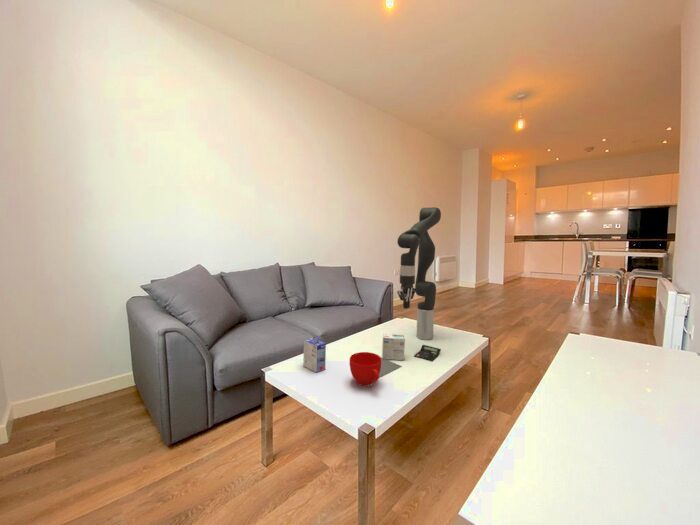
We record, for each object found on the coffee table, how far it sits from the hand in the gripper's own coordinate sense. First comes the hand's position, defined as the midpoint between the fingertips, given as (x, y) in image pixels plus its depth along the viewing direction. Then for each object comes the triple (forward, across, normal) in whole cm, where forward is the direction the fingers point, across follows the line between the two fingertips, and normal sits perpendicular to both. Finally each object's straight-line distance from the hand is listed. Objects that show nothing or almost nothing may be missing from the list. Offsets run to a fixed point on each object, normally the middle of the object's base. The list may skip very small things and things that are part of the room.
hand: (406, 308), depth 149 cm
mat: (+23, +23, 0) cm, 33 cm away
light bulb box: (+23, +10, 0) cm, 25 cm away
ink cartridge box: (+23, +45, -17) cm, 53 cm away
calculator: (+24, -5, +10) cm, 26 cm away
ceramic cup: (+23, +38, +9) cm, 45 cm away
